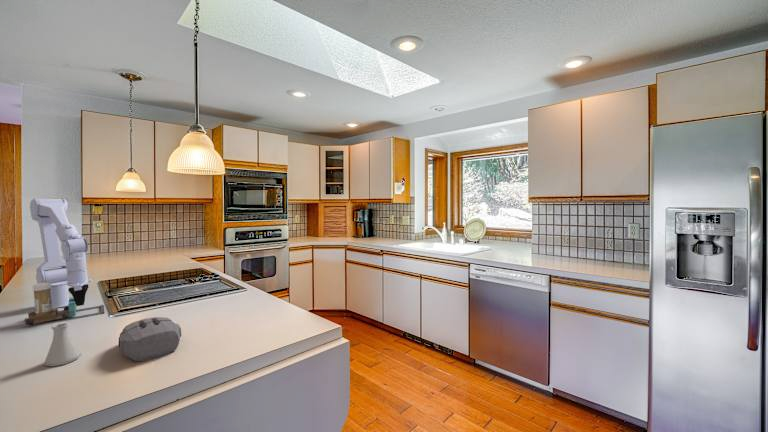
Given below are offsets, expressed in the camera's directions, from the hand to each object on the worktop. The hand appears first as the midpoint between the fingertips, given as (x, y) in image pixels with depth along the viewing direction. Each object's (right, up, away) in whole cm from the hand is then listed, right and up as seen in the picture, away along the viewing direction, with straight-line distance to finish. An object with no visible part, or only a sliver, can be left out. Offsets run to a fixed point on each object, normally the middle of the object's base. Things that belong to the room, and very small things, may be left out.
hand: (80, 305), depth 130 cm
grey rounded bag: (+46, -5, -29) cm, 55 cm away
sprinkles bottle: (-7, -4, -6) cm, 10 cm away
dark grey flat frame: (-2, -4, -2) cm, 5 cm away
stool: (-6, -3, -5) cm, 8 cm away
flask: (+28, -6, -36) cm, 46 cm away
